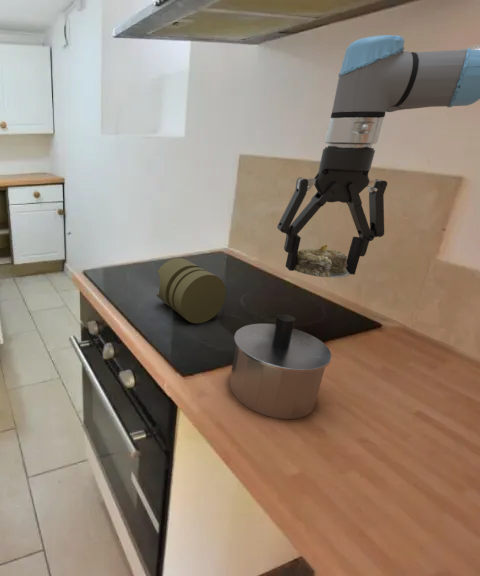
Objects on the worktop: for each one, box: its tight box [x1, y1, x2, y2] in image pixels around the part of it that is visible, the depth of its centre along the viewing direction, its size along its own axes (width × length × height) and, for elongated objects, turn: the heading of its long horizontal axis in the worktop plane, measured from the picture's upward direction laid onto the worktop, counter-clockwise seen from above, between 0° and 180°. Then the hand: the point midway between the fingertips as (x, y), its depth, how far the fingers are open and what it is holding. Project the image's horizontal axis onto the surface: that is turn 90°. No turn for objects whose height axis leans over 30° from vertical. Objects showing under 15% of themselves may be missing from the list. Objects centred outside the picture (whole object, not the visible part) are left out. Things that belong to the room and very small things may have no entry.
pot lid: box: [233, 313, 332, 372], centre depth 57 cm, size 13×13×6 cm
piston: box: [155, 257, 227, 324], centre depth 86 cm, size 11×12×11 cm
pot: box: [229, 345, 326, 420], centre depth 59 cm, size 12×12×8 cm
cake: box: [294, 244, 351, 279], centre depth 72 cm, size 10×10×5 cm
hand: (319, 270), depth 72 cm, fingers closed on cake, 10 cm apart
